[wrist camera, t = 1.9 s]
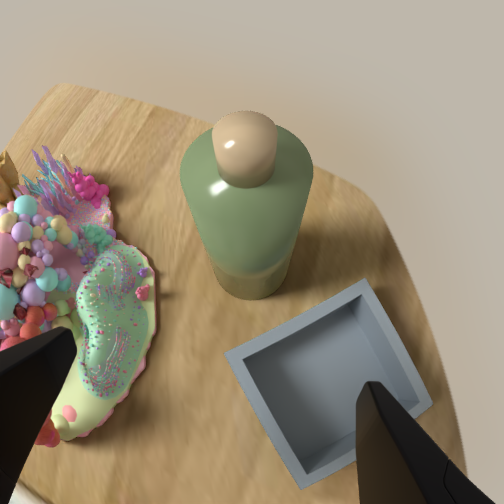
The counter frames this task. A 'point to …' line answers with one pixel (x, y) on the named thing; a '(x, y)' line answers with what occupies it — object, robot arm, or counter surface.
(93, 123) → the counter surface
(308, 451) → the tub
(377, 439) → the robot arm
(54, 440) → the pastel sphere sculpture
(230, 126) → the bottle
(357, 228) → the counter surface
